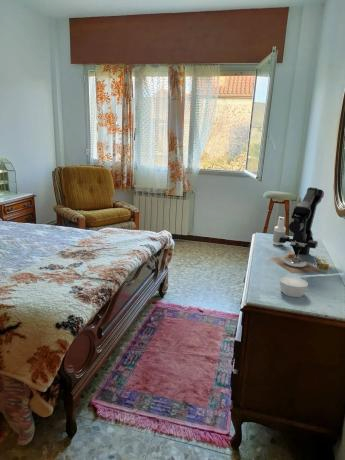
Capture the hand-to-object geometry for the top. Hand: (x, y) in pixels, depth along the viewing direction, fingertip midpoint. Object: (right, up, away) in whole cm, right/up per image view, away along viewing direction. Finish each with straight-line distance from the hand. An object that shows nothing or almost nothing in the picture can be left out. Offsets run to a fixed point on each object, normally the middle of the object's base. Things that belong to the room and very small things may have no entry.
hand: (296, 257), depth 174 cm
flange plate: (-3, -3, -3) cm, 5 cm away
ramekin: (-15, -13, -35) cm, 41 cm away
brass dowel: (-4, -2, +2) cm, 5 cm away
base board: (-3, -4, -4) cm, 7 cm away
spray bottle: (+1, +5, +32) cm, 33 cm away
